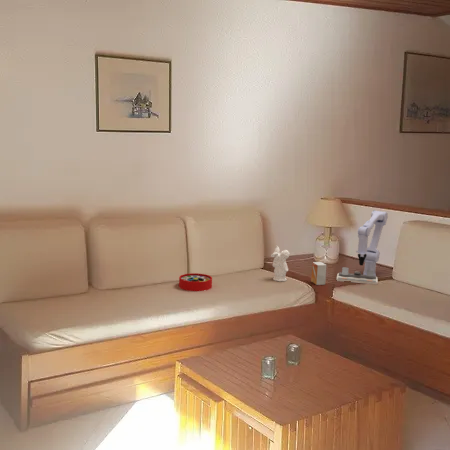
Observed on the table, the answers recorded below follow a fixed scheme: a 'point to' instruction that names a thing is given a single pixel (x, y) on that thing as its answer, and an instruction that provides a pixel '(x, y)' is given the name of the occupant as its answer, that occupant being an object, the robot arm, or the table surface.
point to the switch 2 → (370, 273)
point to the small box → (318, 273)
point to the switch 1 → (345, 271)
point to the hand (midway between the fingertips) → (361, 265)
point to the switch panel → (357, 278)
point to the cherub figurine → (280, 264)
